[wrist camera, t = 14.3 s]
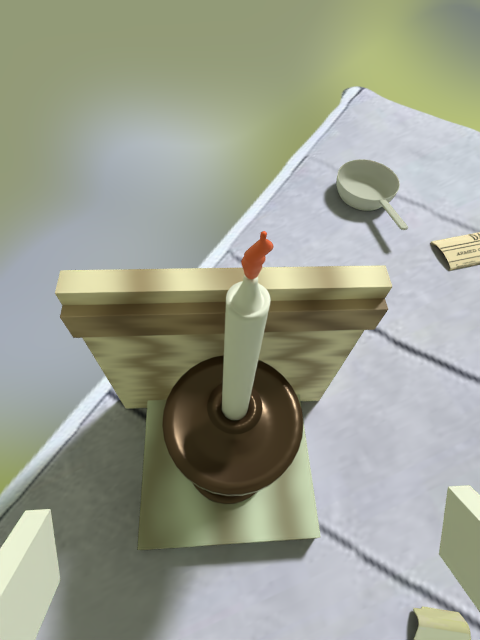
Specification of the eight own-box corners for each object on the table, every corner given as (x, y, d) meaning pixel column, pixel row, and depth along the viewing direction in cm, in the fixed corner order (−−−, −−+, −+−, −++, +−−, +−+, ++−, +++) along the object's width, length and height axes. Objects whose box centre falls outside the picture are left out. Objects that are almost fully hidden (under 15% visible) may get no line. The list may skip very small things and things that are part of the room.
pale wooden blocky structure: (316, 385, 50) (385, 265, 29) (342, 536, 41) (468, 514, 20) (127, 393, 48) (60, 270, 28) (111, 552, 39) (-5, 545, 19)
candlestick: (286, 506, 40) (495, 352, 10) (180, 521, 38) (61, 396, 9) (268, 405, 45) (369, 114, 16) (176, 415, 44) (93, 121, 14)
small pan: (374, 171, 74) (381, 154, 70) (424, 239, 65) (435, 222, 62) (323, 180, 72) (328, 162, 68) (367, 251, 63) (375, 234, 59)
